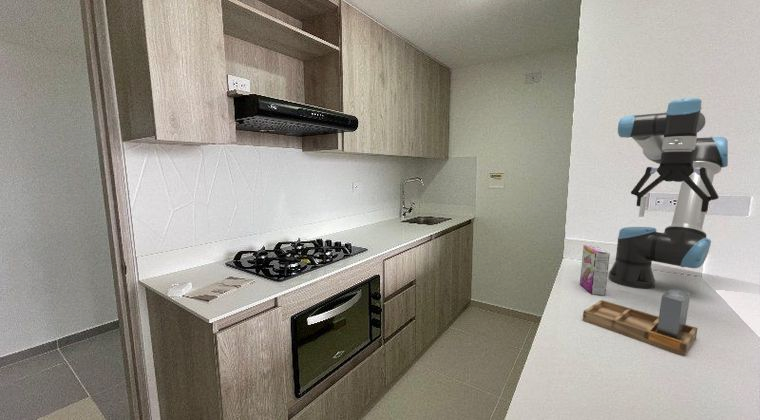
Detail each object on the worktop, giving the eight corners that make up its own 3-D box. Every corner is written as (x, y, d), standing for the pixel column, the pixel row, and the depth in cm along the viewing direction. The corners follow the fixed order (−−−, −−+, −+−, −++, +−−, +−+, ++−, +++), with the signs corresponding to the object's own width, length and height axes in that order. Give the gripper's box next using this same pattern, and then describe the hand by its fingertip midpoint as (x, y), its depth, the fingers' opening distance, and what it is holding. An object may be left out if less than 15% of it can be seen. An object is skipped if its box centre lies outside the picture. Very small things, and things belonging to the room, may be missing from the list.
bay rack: (600, 308, 107) (601, 299, 106) (695, 338, 88) (697, 326, 88) (582, 320, 98) (583, 310, 97) (684, 356, 79) (686, 344, 79)
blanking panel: (665, 328, 92) (671, 288, 90) (684, 334, 89) (690, 292, 87) (655, 338, 86) (661, 296, 84) (675, 345, 83) (682, 301, 81)
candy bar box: (578, 284, 129) (582, 244, 127) (592, 285, 128) (596, 245, 126) (590, 294, 118) (595, 251, 116) (605, 296, 117) (610, 252, 115)
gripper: (624, 151, 106) (617, 215, 109) (736, 149, 86) (723, 226, 89) (631, 152, 110) (624, 213, 113) (739, 150, 91) (727, 224, 94)
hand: (668, 219), depth 101 cm, fingers open, 13 cm apart
